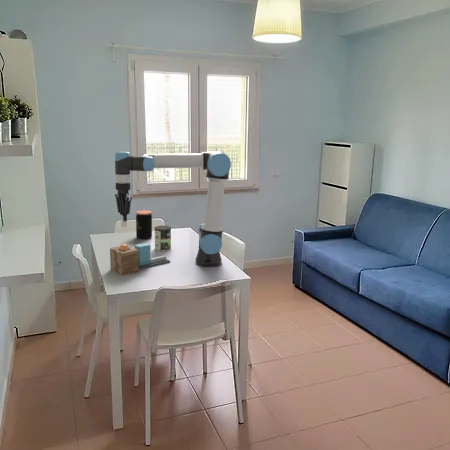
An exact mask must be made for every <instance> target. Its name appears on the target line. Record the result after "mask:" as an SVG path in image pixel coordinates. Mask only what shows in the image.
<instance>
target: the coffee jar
mask: <svg viewBox="0 0 450 450" xmlns="http://www.w3.org/2000/svg"><path fill="white" fill-rule="evenodd" d="M152 213H153V211H151V210H145V209H143V210H137V211H136V212H135V220H136V221H135V227H136V228H135V229H136V230H135V231H136V232H135V233H136V235H135V236H136V238H137V239H139V240H150V239H151V238H152V237H153V215H152Z"/></svg>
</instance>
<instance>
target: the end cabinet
mask: <svg viewBox="0 0 450 450" xmlns="http://www.w3.org/2000/svg"><path fill="white" fill-rule="evenodd" d="M109 253H110V254H109V256H110V257H109V259H110V270H111V271H113V272H114V273H117V274H119V275H121V276H125V275H124V274H126V275H129V274H128V273H130V274H134V273H137V272H138V273H139V271H140V270H139V259H138V250H137V249H135V247H132V246H130V245H128V250H125V251H121V250H120V246H119V245H118V246H115V247H110V248H109ZM133 272H134V273H133Z"/></svg>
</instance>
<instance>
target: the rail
mask: <svg viewBox="0 0 450 450" xmlns="http://www.w3.org/2000/svg"><path fill="white" fill-rule="evenodd" d="M169 263H171V260H170V259H167V255H160V256H156V257H152V258H151V260H150V264H147V265H143V266H139V271H140V270H145V269H149V268H152V267H157V266H160V265H165V264H169Z"/></svg>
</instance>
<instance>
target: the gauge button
mask: <svg viewBox="0 0 450 450" xmlns="http://www.w3.org/2000/svg"><path fill="white" fill-rule="evenodd" d="M128 246H129V245H128V244H127V243H126V244H125V243H122V244H120V250H121V251H125V250H128Z"/></svg>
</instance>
